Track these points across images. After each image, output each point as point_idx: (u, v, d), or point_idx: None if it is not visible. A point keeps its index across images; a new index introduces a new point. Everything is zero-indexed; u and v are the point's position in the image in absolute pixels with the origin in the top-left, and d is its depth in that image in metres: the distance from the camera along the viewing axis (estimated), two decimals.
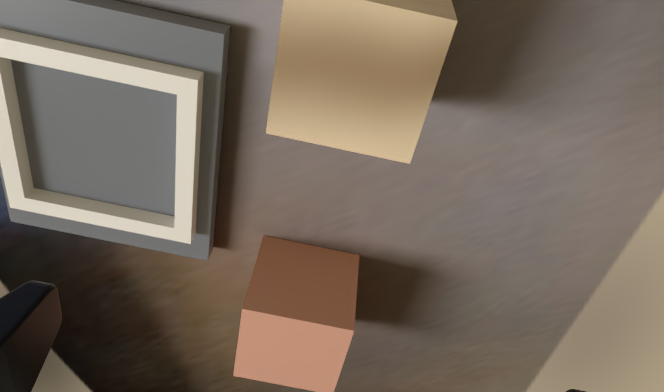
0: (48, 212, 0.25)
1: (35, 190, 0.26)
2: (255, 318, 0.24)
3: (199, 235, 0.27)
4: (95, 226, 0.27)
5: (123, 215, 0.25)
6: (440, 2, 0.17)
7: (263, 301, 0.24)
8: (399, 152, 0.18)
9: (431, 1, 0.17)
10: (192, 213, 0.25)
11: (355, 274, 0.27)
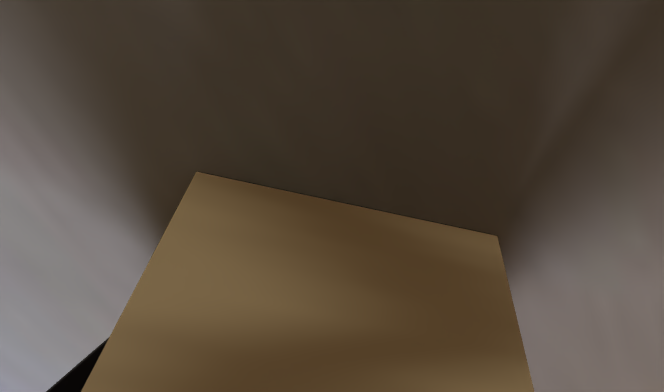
0: None
1: None
2: None
3: None
4: None
5: None
6: (103, 372, 0.06)
7: None
8: None
9: None
10: None
11: None
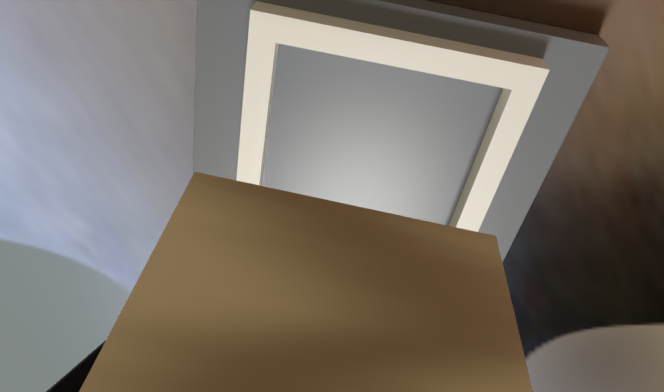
0: None
1: None
2: None
3: (548, 53, 0.16)
4: (510, 196, 0.19)
5: (482, 157, 0.17)
6: None
7: None
8: None
9: None
10: (486, 56, 0.15)
11: None
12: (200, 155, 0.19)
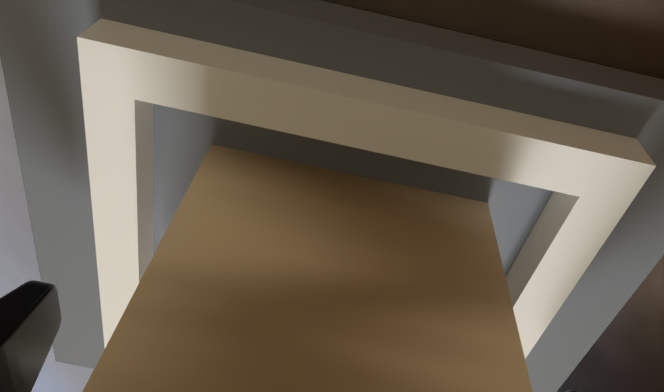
0: None
1: None
2: None
3: (648, 129, 0.09)
4: (553, 342, 0.12)
5: (515, 295, 0.10)
6: None
7: None
8: None
9: None
10: (535, 136, 0.08)
11: None
12: (48, 263, 0.12)
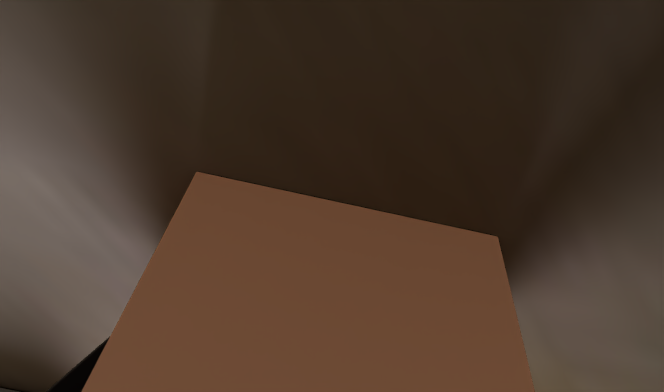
0: None
1: None
2: None
3: None
4: None
5: None
6: None
7: None
8: None
9: None
10: None
11: None
12: None
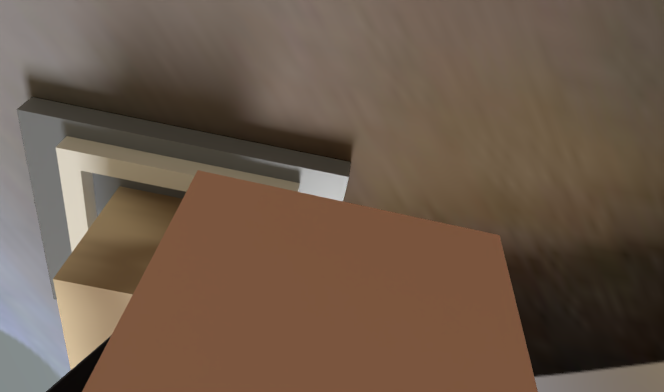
0: None
1: None
2: None
3: (302, 179, 0.20)
4: None
5: None
6: None
7: None
8: None
9: None
10: None
11: None
12: (48, 243, 0.23)
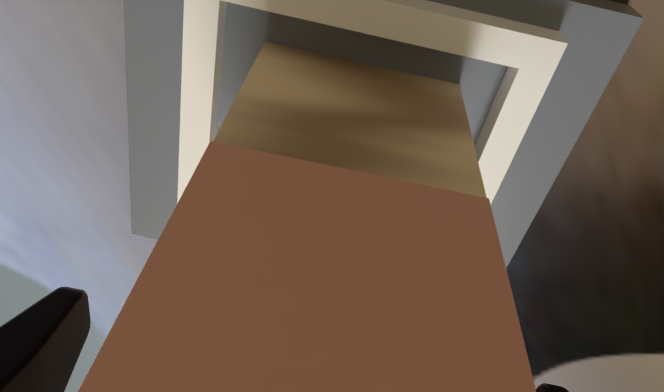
0: None
1: None
2: None
3: (566, 23, 0.13)
4: (512, 203, 0.16)
5: (479, 154, 0.14)
6: None
7: None
8: None
9: None
10: (487, 24, 0.12)
11: None
12: (136, 143, 0.16)
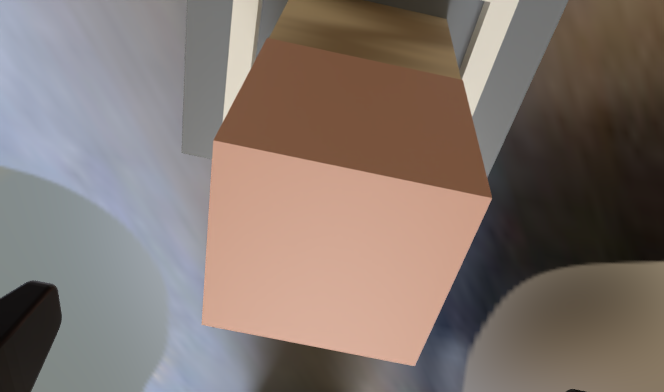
0: None
1: None
2: (224, 310, 0.12)
3: None
4: (489, 120, 0.20)
5: (462, 74, 0.18)
6: None
7: None
8: None
9: None
10: None
11: None
12: (190, 72, 0.20)
